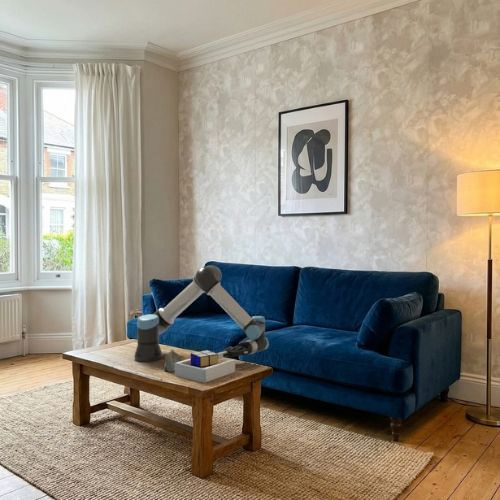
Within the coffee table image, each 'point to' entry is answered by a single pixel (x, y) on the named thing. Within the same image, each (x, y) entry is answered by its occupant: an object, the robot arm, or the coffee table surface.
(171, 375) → the coffee table surface
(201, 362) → the puzzle cube
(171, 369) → the mineral rock
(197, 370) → the grey storage tray
